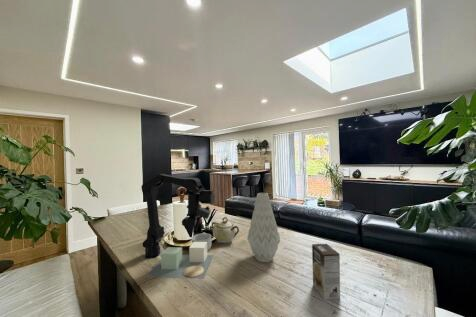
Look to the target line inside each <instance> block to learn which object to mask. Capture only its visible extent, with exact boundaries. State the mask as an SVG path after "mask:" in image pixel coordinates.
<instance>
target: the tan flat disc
mask: <svg viewBox="0 0 476 317" xmlns="http://www.w3.org/2000/svg"><path fill="white" fill-rule="evenodd" d="M203 272H204V268H203V267H201V266H190V267H188V268H186V269H185V270H184V271H183V274H184V276H186V277H197V276H199V275H201V274H202V273H203Z"/></svg>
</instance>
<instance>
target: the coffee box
mask: <svg viewBox="0 0 476 317" xmlns="http://www.w3.org/2000/svg"><path fill="white" fill-rule="evenodd" d="M311 252H312V253H311V254H312V256H311V258H312V286H313V287H314V288H315V289H316V290H317V292H318V293H319V294H320V297H322V299H323V300H338V299H339V300H340V299H341V270H340V269H341V265H340V264H341V263H340V262H341V261H340V259H341V258H340V253H339V252H338V251H337V250H336V249H334V248H333V247H332V246H330V245H329V244H328V243H313V244H311Z"/></svg>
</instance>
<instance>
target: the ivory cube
mask: <svg viewBox="0 0 476 317" xmlns="http://www.w3.org/2000/svg"><path fill="white" fill-rule="evenodd" d="M188 250H189V251H188V252H189V254H188V255H190V262H204V261H205V259H206V257H207V255H208V251H207V242H193V243H192V242H191V244H190V246H189V248H188Z"/></svg>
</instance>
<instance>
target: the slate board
mask: <svg viewBox="0 0 476 317" xmlns="http://www.w3.org/2000/svg"><path fill="white" fill-rule="evenodd" d="M214 256H215V254H207V257H206V259H205V261H204V262H190V255H189V254H182V263H181V264H180V265H179V267H178V268H177V270H176V269H161V259H160V260H159V261H158V262H157V263H156V264H155V265H154V267H152V269H150V271H149V272H148V273H147V274H146V275H145V276H144V278H165V279H166V278H167V279H168V278H171V279H199V280H200V279H203V280H204V279H205V278H206V275H207V273H208V270H209V268H210V265H211V263H212V261H213V260H214ZM190 266H201V267H203V268H204V272H203V273H202V274H201V275H199V276H197V277H186V276H184V274H183V271H184V270H185V269H186V268H188V267H190Z"/></svg>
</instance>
